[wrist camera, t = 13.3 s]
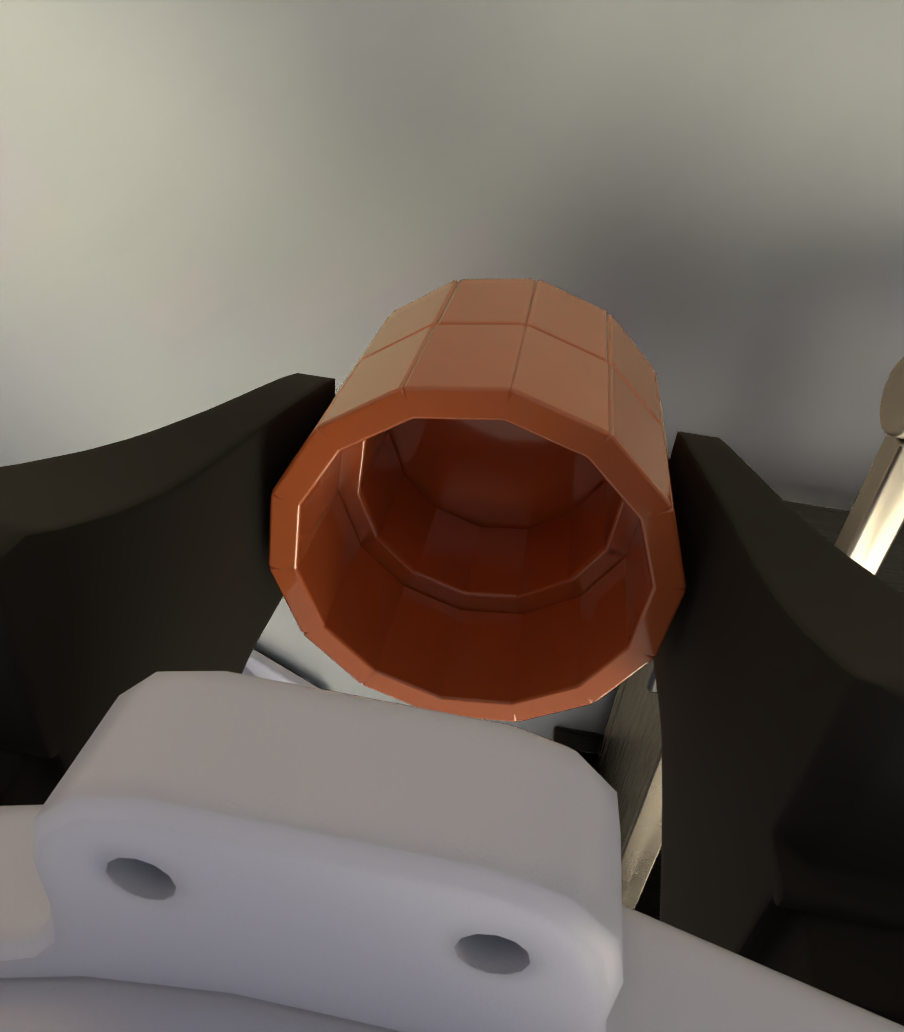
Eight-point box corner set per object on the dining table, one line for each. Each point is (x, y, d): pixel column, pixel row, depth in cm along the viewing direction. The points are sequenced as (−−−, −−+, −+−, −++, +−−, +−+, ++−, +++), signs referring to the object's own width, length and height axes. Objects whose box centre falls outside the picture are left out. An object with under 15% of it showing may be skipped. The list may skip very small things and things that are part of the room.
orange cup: (305, 438, 14) (202, 589, 11) (473, 191, 11) (411, 285, 8) (528, 588, 15) (504, 771, 12) (733, 399, 12) (784, 564, 9)
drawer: (713, 236, 15) (761, 349, 10) (1343, 320, 14) (1713, 487, 9) (557, 804, 26) (545, 988, 21) (909, 874, 25) (980, 1082, 20)
